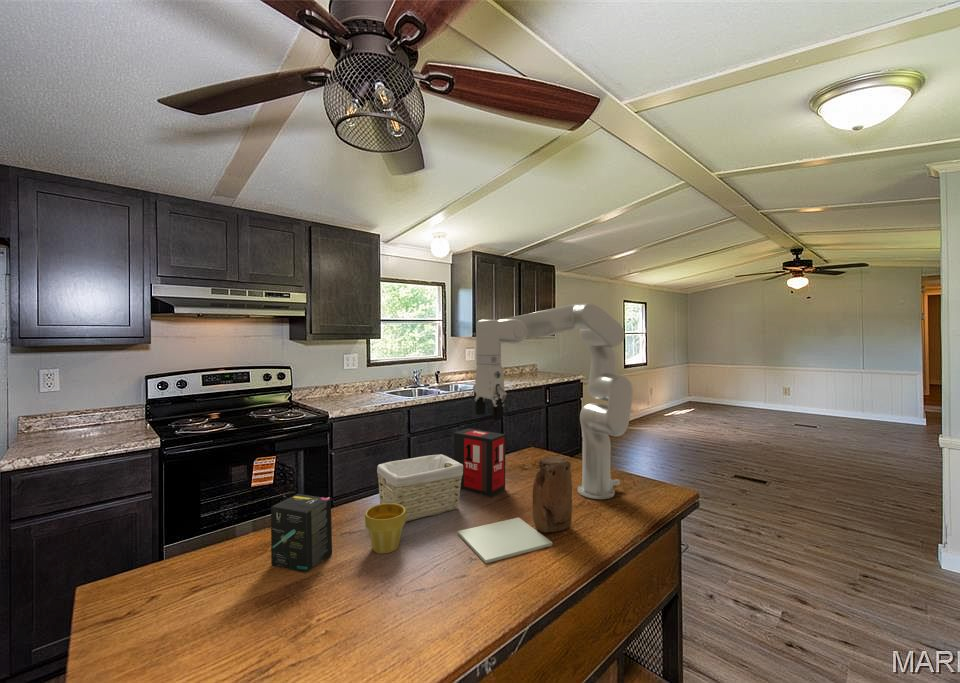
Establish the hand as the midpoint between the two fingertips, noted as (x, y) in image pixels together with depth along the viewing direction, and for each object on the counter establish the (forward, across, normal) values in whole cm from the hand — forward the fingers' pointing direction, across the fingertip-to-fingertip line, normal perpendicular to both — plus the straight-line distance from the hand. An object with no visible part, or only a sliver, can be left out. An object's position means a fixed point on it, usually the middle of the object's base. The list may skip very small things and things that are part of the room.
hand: (488, 416), depth 130 cm
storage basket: (+31, +16, +16) cm, 38 cm away
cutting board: (+31, -14, +4) cm, 34 cm away
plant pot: (+31, -2, +33) cm, 45 cm away
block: (+31, -15, -12) cm, 37 cm away
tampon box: (+31, +3, +53) cm, 61 cm away
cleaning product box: (+31, +22, -10) cm, 39 cm away
